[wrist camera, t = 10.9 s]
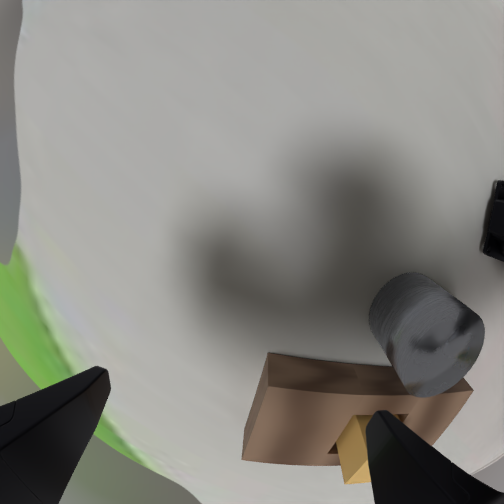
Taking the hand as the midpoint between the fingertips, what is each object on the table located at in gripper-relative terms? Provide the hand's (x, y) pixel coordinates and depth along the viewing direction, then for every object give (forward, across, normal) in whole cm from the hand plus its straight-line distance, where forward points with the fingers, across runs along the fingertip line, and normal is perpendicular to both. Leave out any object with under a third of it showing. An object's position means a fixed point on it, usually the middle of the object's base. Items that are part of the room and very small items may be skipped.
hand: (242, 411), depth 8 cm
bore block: (+12, -12, +11) cm, 20 cm away
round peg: (+12, -12, +1) cm, 17 cm away
